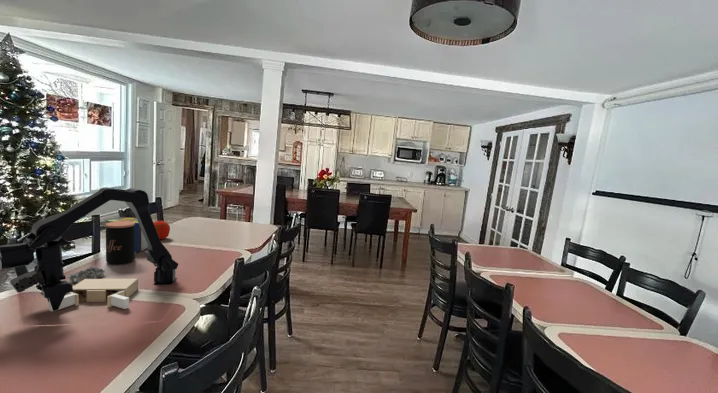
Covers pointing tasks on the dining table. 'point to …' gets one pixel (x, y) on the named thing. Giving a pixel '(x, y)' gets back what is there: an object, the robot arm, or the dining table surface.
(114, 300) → the flap
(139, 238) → the protein box
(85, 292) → the cocoa tin
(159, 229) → the apple
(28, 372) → the dining table surface
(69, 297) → the flap
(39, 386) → the dining table surface
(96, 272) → the egg carton
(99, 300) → the carton
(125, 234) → the coffee jar
